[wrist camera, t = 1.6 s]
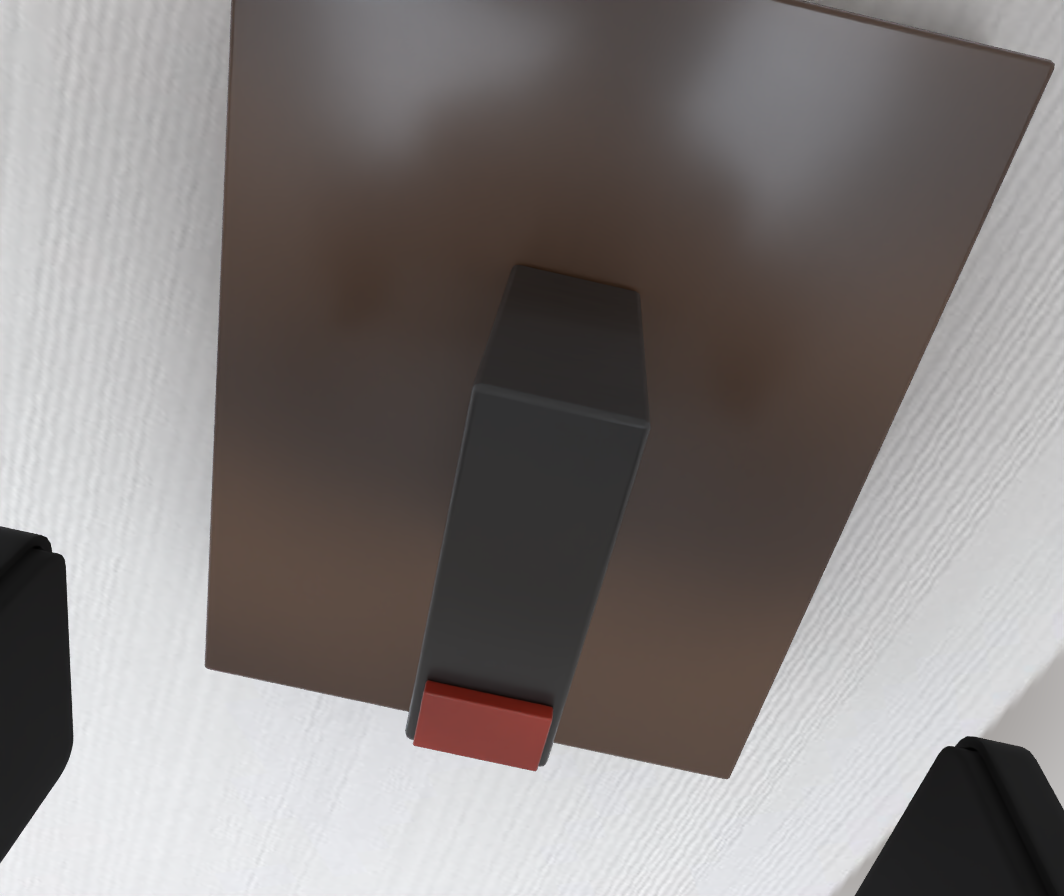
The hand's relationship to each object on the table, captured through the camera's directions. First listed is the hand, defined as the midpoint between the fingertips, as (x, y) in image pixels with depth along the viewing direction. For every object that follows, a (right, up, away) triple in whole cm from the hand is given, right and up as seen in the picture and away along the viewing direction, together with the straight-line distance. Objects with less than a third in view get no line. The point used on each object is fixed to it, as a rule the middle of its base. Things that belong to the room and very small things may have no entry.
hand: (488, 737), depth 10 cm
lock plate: (+1, +5, +8) cm, 9 cm away
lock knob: (+1, +3, +5) cm, 6 cm away
